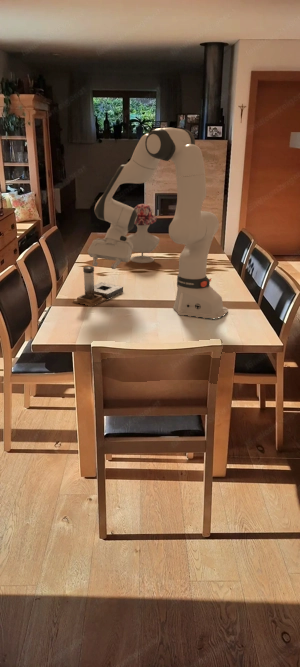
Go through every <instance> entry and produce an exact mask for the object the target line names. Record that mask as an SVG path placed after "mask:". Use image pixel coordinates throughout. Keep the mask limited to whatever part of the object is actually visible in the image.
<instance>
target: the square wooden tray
mask: <svg viewBox="0 0 300 667" xmlns="http://www.w3.org/2000/svg"><path fill="white" fill-rule="evenodd" d="M102 301H103V302H105V301H107V299H106V298H102V296H100V295H96V294H94V299H92V300H89V299H85V293H84V294H82V295H80V296H78V297H77V298H75V299H74V300H72V303H74V304H78V303H81V304H80V305H82V304H85V305H84V306H87V305H88V306H87V307H91V306H93V307H94V305H95V304H97V303H99V304H101V303H103V302H102ZM100 302H101V303H100ZM97 305H98V304H97ZM95 306H96V305H95Z"/></svg>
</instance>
